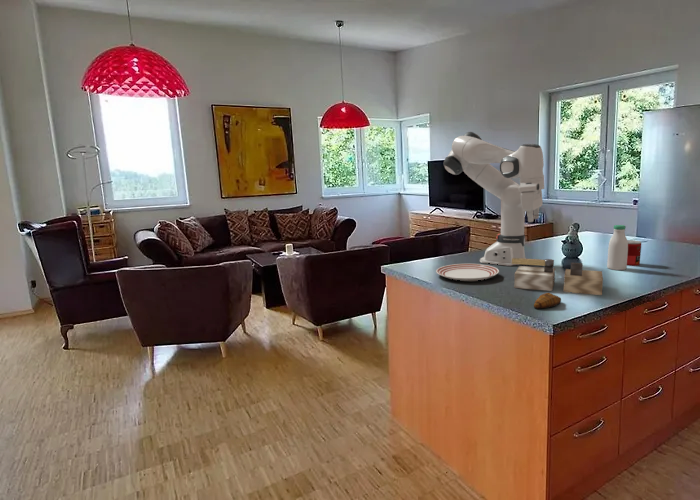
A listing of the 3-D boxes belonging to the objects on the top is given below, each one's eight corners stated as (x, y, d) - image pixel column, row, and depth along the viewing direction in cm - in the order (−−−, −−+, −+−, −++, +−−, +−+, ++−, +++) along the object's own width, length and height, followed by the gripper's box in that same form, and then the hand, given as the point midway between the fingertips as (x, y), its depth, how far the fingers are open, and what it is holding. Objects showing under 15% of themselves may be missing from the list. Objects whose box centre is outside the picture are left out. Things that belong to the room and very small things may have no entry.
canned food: (639, 266, 210) (641, 243, 208) (619, 265, 215) (621, 242, 213) (639, 263, 217) (641, 240, 215) (620, 261, 221) (621, 239, 219)
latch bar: (511, 264, 187) (511, 258, 186) (512, 262, 190) (512, 257, 189) (553, 267, 180) (553, 261, 179) (553, 265, 183) (554, 259, 182)
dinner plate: (460, 287, 187) (461, 280, 186) (424, 274, 211) (424, 267, 211) (512, 279, 197) (512, 271, 197) (472, 267, 222) (472, 260, 221)
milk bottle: (629, 270, 204) (632, 226, 200) (610, 270, 205) (613, 226, 202) (622, 266, 211) (625, 224, 207) (604, 266, 213) (607, 224, 209)
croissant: (543, 312, 153) (544, 298, 152) (526, 307, 159) (527, 293, 158) (568, 305, 160) (569, 291, 159) (551, 300, 165) (551, 287, 164)
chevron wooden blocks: (514, 287, 183) (515, 262, 181) (518, 279, 195) (519, 255, 193) (601, 295, 169) (603, 267, 167) (601, 285, 181) (602, 259, 179)
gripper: (529, 184, 189) (530, 217, 191) (517, 187, 172) (519, 223, 174) (545, 183, 186) (546, 216, 188) (535, 186, 169) (536, 223, 171)
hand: (533, 220), depth 181 cm, fingers open, 8 cm apart
